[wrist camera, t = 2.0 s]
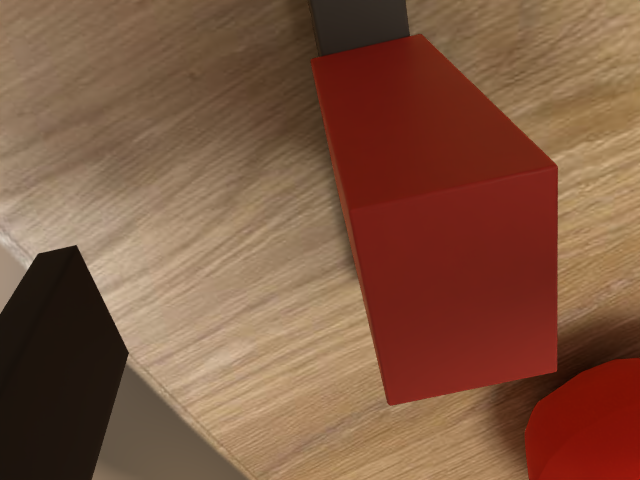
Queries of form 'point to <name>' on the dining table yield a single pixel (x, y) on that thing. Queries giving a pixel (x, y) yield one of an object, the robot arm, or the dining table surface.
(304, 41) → the dining table surface
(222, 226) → the dining table surface
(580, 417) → the tomato
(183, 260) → the dining table surface
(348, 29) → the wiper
